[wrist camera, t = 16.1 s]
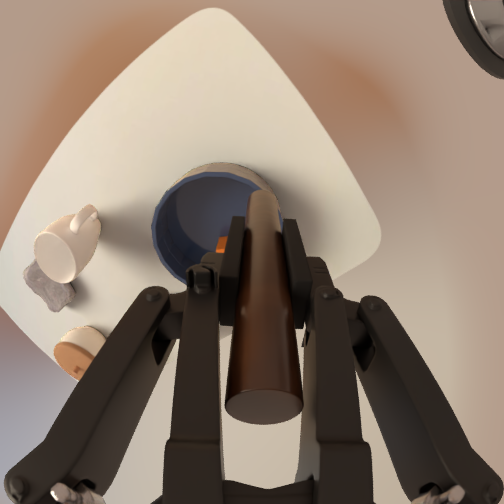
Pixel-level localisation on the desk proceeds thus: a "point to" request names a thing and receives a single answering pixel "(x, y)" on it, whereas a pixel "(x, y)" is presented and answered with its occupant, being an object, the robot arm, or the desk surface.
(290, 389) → the stick
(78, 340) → the lidded bowl
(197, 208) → the stir bowl
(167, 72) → the desk surface
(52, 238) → the mug
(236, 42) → the desk surface
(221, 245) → the block
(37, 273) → the stone block
